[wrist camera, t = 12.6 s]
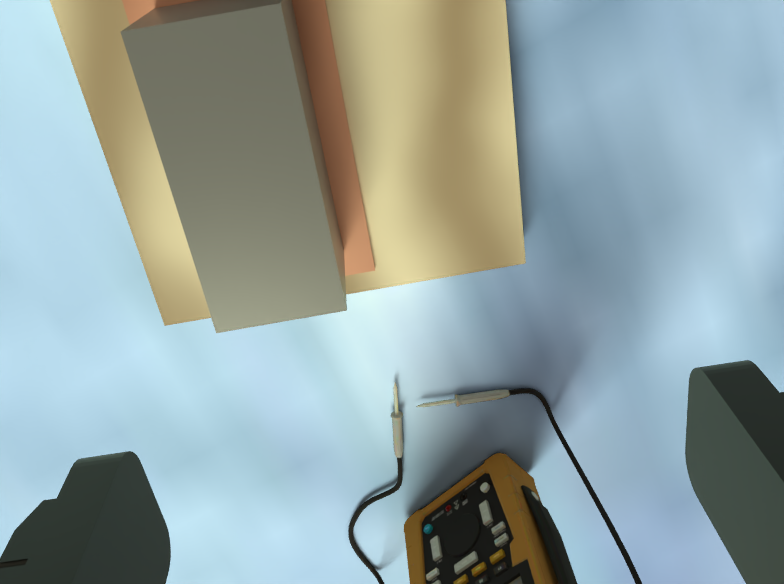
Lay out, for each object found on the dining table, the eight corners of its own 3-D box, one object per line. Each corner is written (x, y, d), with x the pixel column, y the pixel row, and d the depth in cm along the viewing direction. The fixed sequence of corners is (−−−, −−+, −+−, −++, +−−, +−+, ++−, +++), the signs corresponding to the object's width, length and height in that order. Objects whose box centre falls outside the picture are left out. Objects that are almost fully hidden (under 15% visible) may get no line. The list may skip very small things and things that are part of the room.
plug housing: (288, -16, 26) (280, 3, 22) (344, 251, 31) (346, 310, 27) (155, 8, 26) (120, 31, 22) (231, 271, 32) (216, 333, 27)
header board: (487, -126, 27) (519, -129, 22) (518, 248, 34) (546, 302, 30) (48, -48, 27) (-7, -36, 22) (171, 308, 34) (148, 370, 30)
